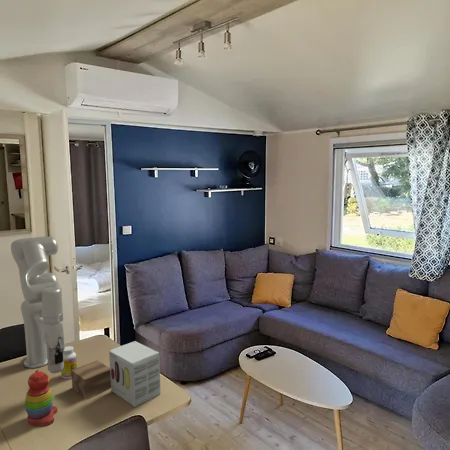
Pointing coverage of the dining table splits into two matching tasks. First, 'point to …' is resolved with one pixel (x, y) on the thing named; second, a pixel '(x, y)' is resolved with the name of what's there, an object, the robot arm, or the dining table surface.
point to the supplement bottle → (68, 362)
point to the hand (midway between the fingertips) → (55, 359)
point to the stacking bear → (39, 400)
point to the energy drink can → (53, 360)
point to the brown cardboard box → (91, 379)
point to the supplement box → (135, 373)
